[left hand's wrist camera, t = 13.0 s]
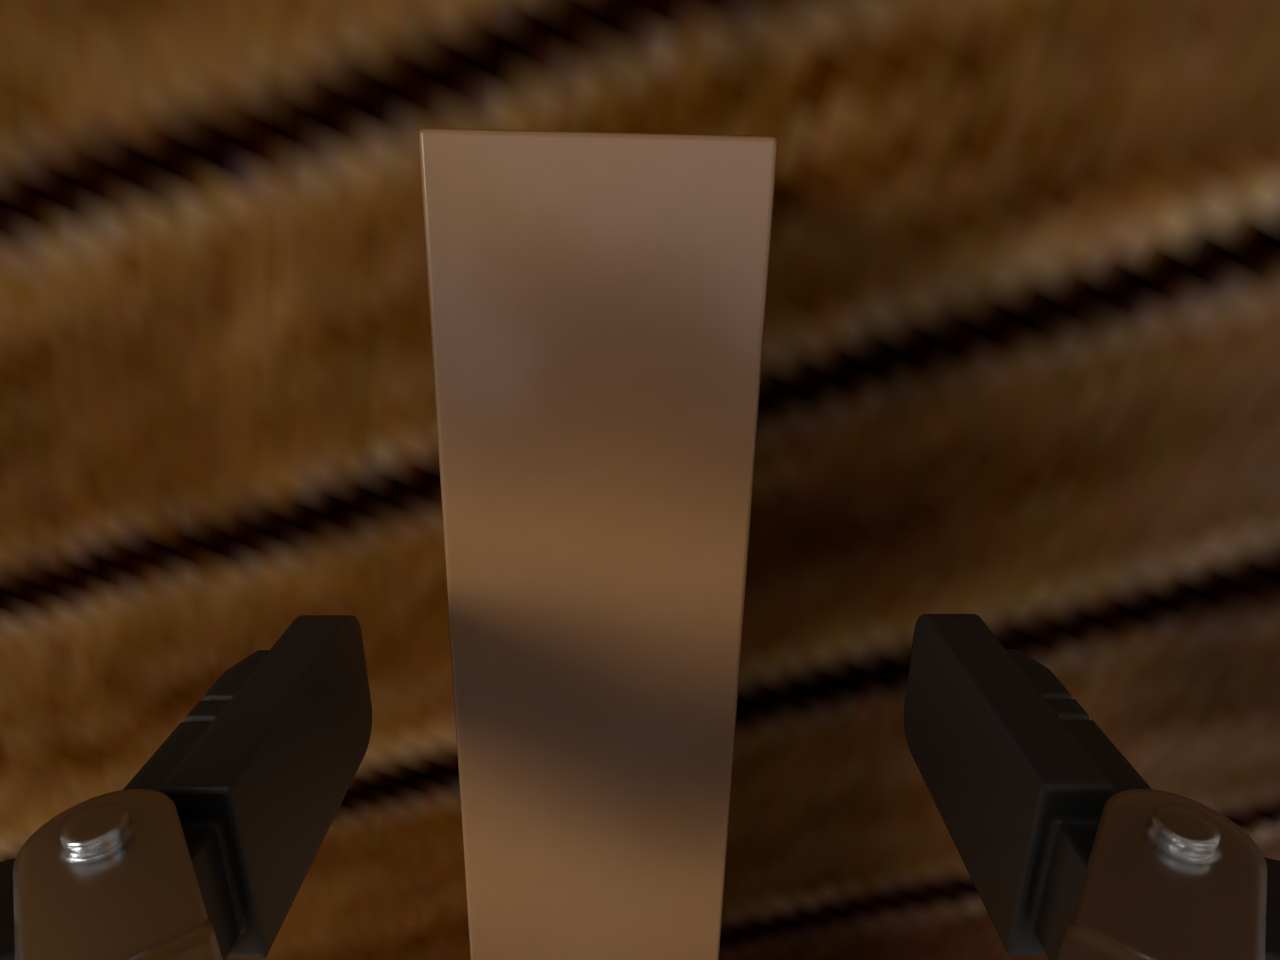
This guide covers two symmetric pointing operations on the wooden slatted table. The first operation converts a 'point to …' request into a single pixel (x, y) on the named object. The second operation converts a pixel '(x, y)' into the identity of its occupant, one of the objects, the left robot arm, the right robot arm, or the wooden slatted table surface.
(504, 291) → the post
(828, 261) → the wooden slatted table surface
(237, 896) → the left robot arm
